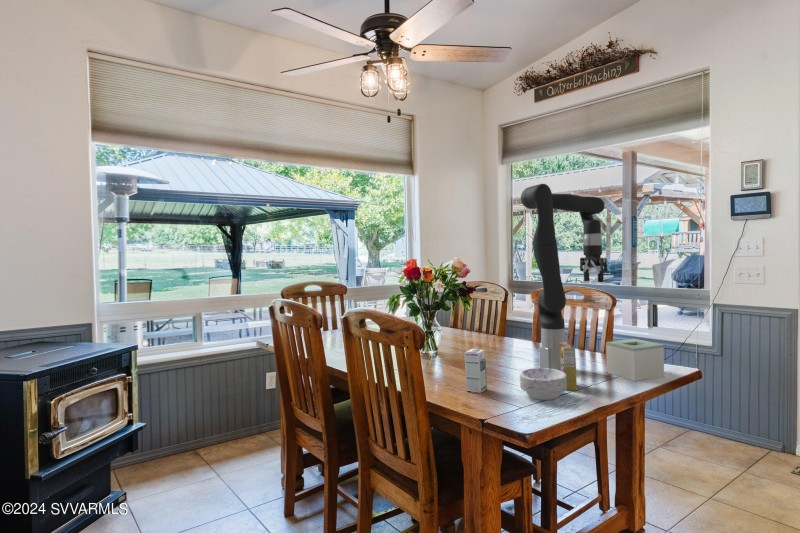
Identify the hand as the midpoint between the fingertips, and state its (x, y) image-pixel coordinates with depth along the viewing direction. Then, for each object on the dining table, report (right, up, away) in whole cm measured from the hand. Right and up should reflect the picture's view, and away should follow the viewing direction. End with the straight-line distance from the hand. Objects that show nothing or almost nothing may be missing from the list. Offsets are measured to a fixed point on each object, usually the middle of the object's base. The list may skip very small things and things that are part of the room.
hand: (593, 281), depth 210 cm
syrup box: (-57, -38, -36) cm, 77 cm away
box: (+6, -35, -25) cm, 43 cm away
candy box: (-24, -37, -37) cm, 57 cm away
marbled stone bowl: (-35, -38, -46) cm, 69 cm away
